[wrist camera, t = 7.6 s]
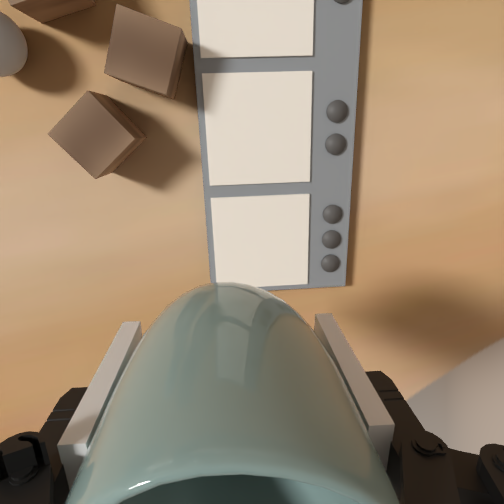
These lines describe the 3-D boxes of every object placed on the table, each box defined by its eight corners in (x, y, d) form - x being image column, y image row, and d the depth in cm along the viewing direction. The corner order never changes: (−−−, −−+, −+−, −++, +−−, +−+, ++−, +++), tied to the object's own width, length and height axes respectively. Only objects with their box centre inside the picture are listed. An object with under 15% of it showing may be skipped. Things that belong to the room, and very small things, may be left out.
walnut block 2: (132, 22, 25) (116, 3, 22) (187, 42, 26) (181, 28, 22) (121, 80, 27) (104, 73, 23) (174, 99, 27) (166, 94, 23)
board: (184, -84, 24) (182, -95, 22) (362, -84, 24) (369, -94, 23) (211, 288, 32) (211, 294, 31) (341, 281, 33) (345, 286, 32)
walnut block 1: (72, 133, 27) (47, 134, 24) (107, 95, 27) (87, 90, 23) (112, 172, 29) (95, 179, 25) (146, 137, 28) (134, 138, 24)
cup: (341, 298, 16) (498, 530, 7) (264, 421, 18) (304, 727, 9) (184, 228, 15) (112, 406, 5) (118, 371, 17) (-17, 681, 7)
